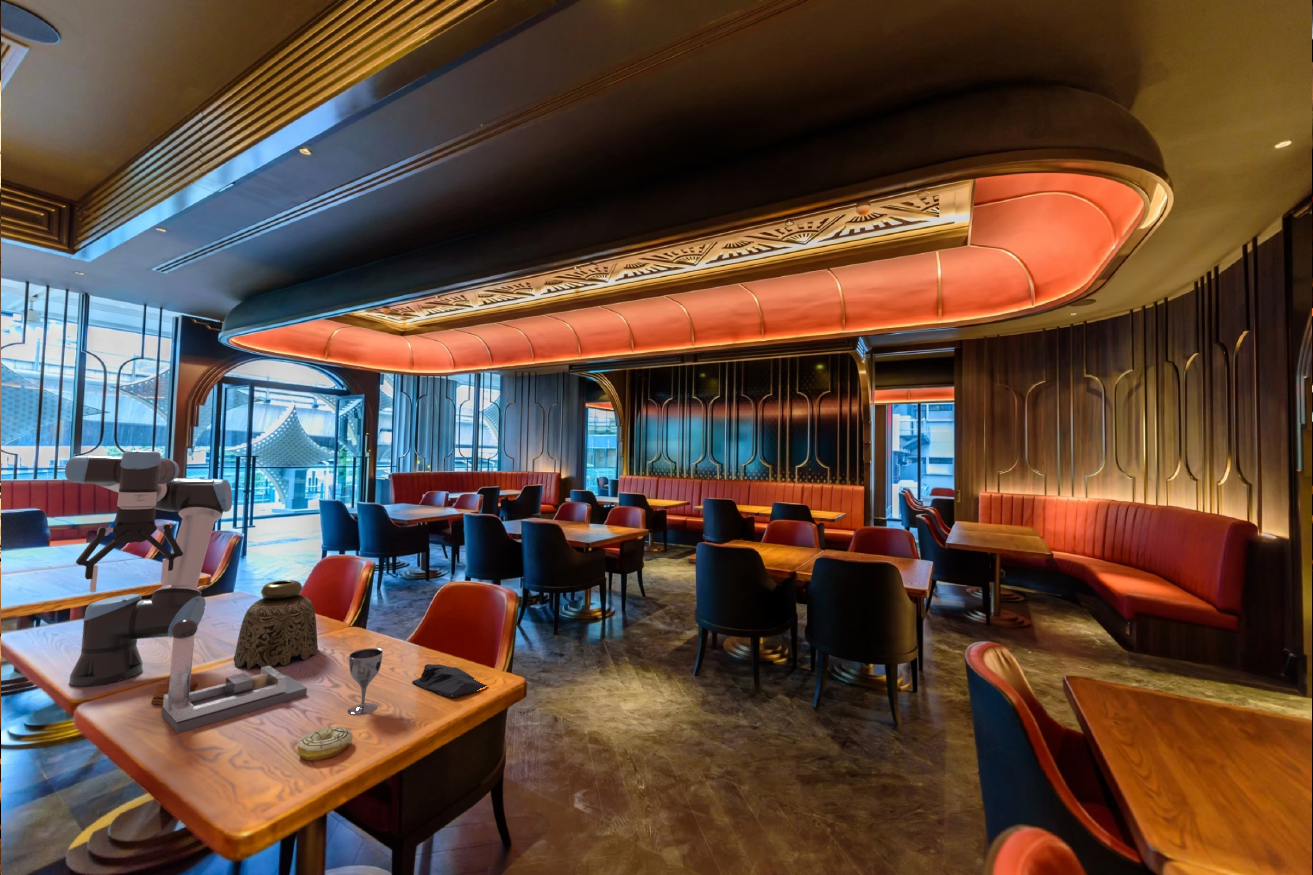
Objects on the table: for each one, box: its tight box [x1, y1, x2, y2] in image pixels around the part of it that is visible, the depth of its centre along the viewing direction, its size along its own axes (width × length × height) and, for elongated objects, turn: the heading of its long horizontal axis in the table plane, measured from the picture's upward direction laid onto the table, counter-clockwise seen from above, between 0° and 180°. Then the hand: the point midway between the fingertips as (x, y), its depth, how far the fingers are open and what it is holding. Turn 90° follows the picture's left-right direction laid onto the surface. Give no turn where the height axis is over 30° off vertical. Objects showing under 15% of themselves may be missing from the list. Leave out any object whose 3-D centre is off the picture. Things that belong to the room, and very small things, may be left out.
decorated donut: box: [296, 726, 353, 762], centre depth 122 cm, size 10×11×4 cm
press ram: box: [162, 619, 287, 722], centre depth 141 cm, size 13×24×23 cm, turn 144°
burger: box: [151, 677, 199, 706], centre depth 145 cm, size 10×9×5 cm
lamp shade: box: [233, 579, 319, 670], centre depth 178 cm, size 23×23×25 cm
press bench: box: [160, 673, 308, 734], centre depth 142 cm, size 15×28×2 cm, turn 144°
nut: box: [249, 673, 268, 691], centre depth 146 cm, size 4×4×4 cm
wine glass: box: [347, 647, 383, 716], centre depth 143 cm, size 8×8×15 cm
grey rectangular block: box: [225, 672, 253, 698], centre depth 143 cm, size 7×4×5 cm, turn 54°
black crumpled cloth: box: [411, 663, 488, 698], centre depth 160 cm, size 15×22×5 cm
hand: (129, 587), depth 140 cm, fingers open, 13 cm apart
